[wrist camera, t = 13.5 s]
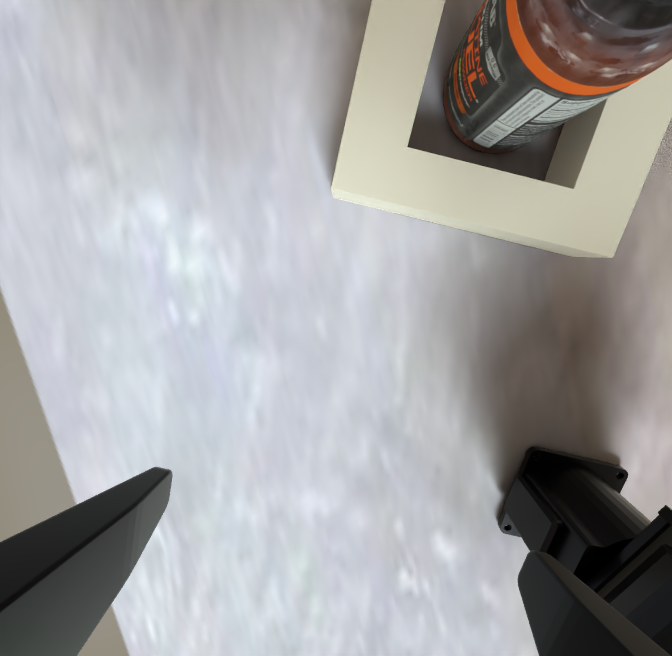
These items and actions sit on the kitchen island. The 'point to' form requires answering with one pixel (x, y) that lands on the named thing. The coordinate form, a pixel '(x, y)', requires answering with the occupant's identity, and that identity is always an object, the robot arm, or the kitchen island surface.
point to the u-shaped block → (482, 182)
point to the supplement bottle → (548, 64)
